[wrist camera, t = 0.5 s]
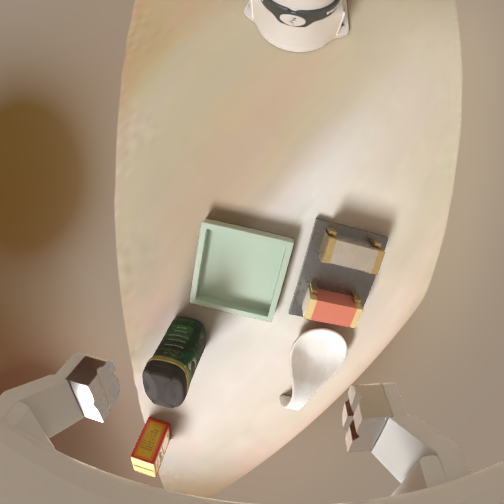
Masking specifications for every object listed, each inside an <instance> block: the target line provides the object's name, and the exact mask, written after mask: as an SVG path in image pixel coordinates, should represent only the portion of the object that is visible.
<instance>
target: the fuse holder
mask: <svg viewBox="0 0 504 504" xmlns="http://www.w3.org/2000/svg"><path fill="white" fill-rule="evenodd" d="M387 241H388V238H387V237H384V236H380V235H377V234H373V233H369V232H366V231H362V230H359V229H355V228H351V227H347V226H344V225H340V224H336V223H332V222H328V221H325V220H321V219H317V218H316V220H315V223H314V227H313V231H312V234H311V238H310V242H309V245H308V249H307V252H306V256H305V259H304V263H303V266H302V269H301V273H300V276H299V280H298V283H297V286H296V290H295V293H294V296H293V299H292V303H291V306H290V309H289V314H292V315H297V316H302V317H304V314H303V302H304V299H305V296H306V292H307V289H308V287H310V289H311V293H316V294H318V289H322V290H326V291H331V292H335V293H340V294H345V295H349V296H352V297H353V299H354V302H358V303H360V304H361V306H362V308H363V306H364V304H365V301H366V299H367V296H368V294H369V291H370V289H371V286H372V283H373V281H374V278H375V275H377V274H378V271H379V268H380V265H381V263H382V260H383V257H384V254H385V252H384V250H385V247H386V244H387Z"/></svg>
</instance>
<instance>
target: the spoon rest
mask: <svg viewBox="0 0 504 504" xmlns="http://www.w3.org/2000/svg"><path fill="white" fill-rule="evenodd" d="M347 351H348V348H347V343H346V341H345V339H344V338H343V336H342V335H341V334H339V333H338V332H336V331H334V330H332V329H328V328H314V329H311V330H308V331H306V332H304V333H303V334H301V335H300V336H299V337H298V338H297V339H296V341H295V342H294V343H293V345H292V348H291V352H290V371H291V378H292V397H291V396H286V395H281V396H280V403H281V405H282V406H283V407H284V408H290V409H294V410H300V409H301V408H302V407H303V406H304V405H305V404H306V403H307V402H308V401H309V399H310V398H311V397H312V396H313V395H314V394H315V392H316V391H317V390H318V389H319V388H320V387H321V386H323V385H324V384H325V383H326V382H327V381H328V380H329V379H330V378H331V377H332V376H333V375H334V374H335V373H336V371H337V370H338V369H339V368H340V367H341V365H342V364H343V362H344V361H345V359H346V356H347Z"/></svg>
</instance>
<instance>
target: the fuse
mask: <svg viewBox="0 0 504 504" xmlns="http://www.w3.org/2000/svg"><path fill="white" fill-rule="evenodd" d="M362 312H363V308H362V306H361V304H360V303H358V302H354V299H353V297H352V296H349V295H345V294H340V293H335V292H331V291H326V290H322V289H318V294H316V293H311V289H310V287H308V289H307V292H306V296H305V299H304V302H303V314H304V319H309V320H314V321H319V322H324V323H329V324H335V325H340V326H345V327H351V328H356V326H357V324H358V321H359V319H360V317H361V314H362Z"/></svg>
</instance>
